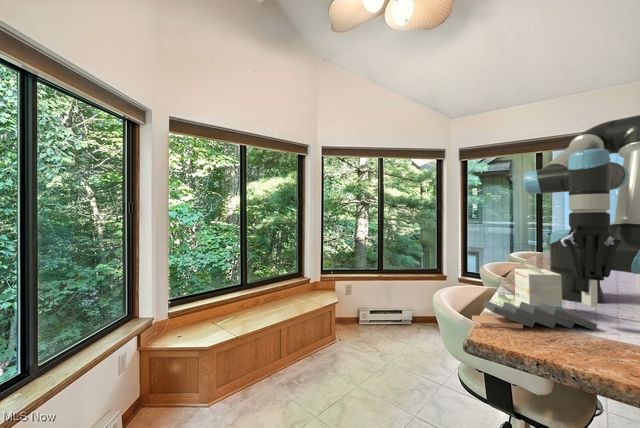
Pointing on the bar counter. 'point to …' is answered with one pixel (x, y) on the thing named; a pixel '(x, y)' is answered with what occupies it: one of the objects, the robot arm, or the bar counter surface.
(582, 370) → the bar counter surface
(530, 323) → the domino
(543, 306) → the domino
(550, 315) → the domino
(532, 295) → the ink box
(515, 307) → the domino
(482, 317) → the domino
